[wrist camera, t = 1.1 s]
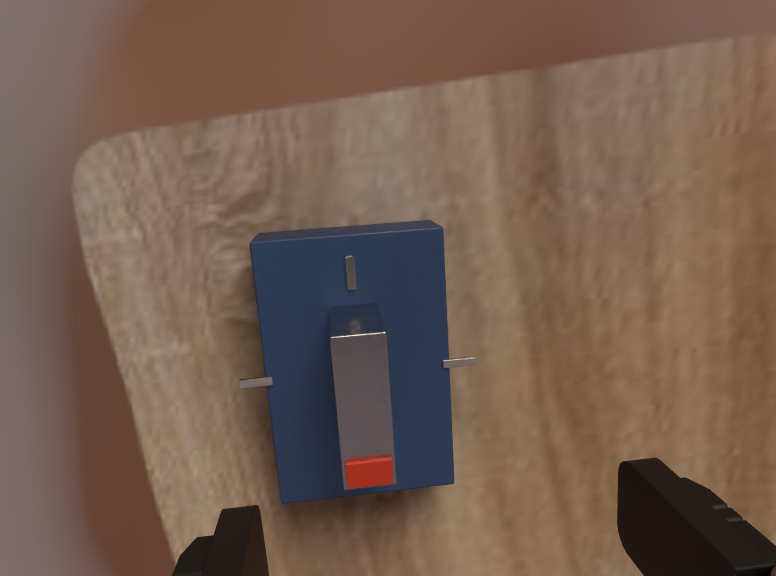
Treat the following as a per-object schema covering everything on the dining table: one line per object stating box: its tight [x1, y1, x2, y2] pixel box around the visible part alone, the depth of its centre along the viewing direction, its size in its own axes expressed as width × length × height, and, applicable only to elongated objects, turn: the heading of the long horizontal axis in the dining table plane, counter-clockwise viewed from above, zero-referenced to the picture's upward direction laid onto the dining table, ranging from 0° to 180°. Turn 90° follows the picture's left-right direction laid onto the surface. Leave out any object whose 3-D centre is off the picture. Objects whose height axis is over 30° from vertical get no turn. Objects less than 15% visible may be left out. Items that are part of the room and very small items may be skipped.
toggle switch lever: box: [330, 303, 397, 490], centre depth 22 cm, size 6×2×4 cm, turn 4°
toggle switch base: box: [239, 220, 475, 504], centre depth 26 cm, size 12×10×3 cm
